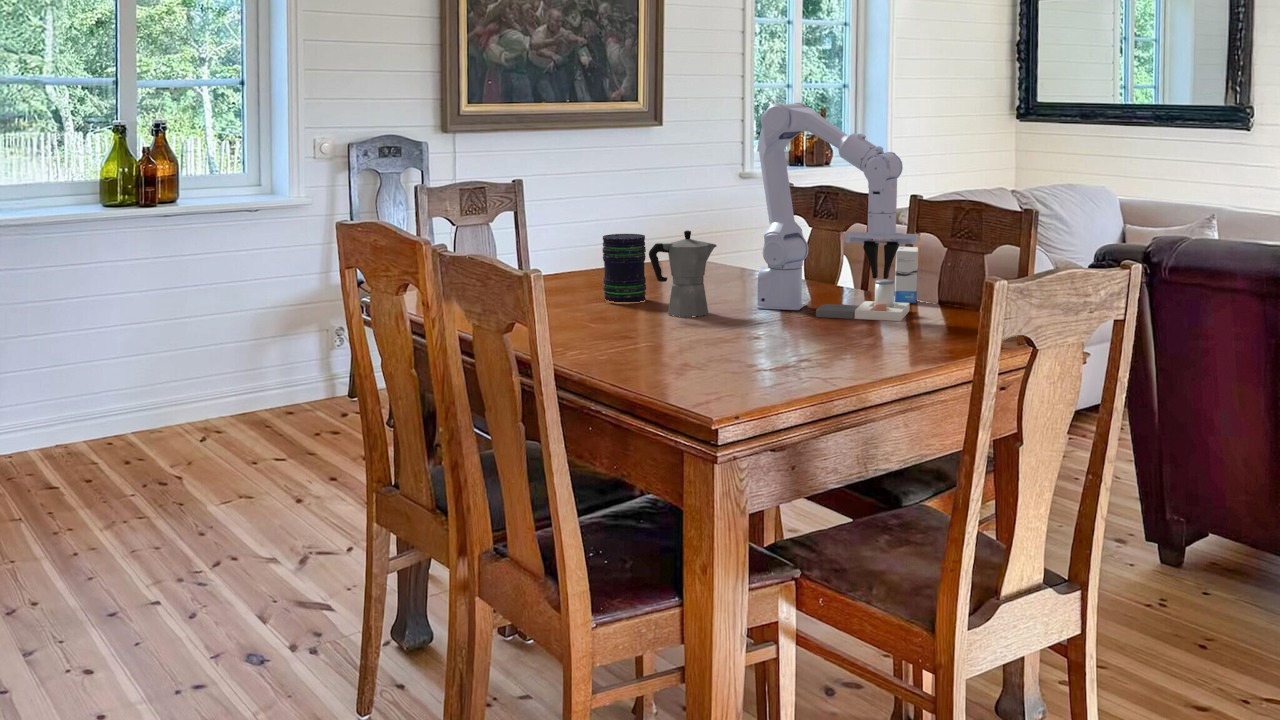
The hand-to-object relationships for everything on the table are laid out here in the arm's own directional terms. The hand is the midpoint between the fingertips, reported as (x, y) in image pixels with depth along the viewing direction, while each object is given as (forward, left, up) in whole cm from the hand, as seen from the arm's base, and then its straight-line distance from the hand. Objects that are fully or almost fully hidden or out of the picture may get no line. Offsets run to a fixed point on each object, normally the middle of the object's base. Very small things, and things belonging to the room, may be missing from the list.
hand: (880, 278), depth 265 cm
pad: (-9, +2, -8) cm, 12 cm away
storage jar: (-59, +6, -9) cm, 60 cm away
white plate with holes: (0, +4, -8) cm, 9 cm away
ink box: (+2, +24, -9) cm, 25 cm away
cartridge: (0, +6, -8) cm, 10 cm away
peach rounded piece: (0, 0, -9) cm, 9 cm away
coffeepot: (-41, -6, -9) cm, 42 cm away
